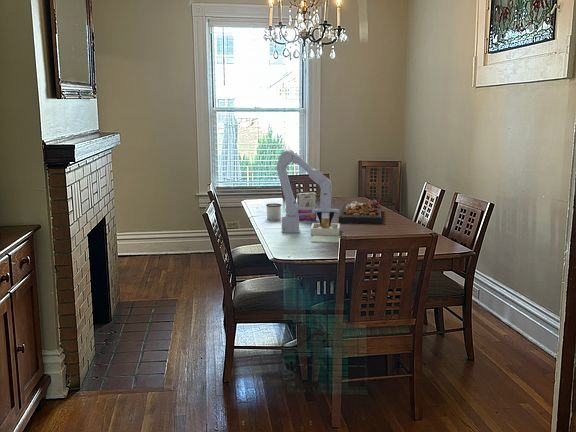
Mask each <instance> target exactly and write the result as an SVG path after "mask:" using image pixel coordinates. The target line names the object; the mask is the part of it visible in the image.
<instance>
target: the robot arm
mask: <svg viewBox="0 0 576 432" xmlns="http://www.w3.org/2000/svg"><path fill="white" fill-rule="evenodd" d="M290 164H297V166H299V167H301V169H303V170H304V171H305V172H307V173H308V177H309V178H310V179H311V180H312V181H313V182H315V183H316V184H317V185H319V189H320V192H319V195H320V196H319V197H320V203H319V204H320V205H319V206H320V207H319V208H316V209H312V213H316V217H317V218H318V221H319V223H320V226H322V217H323V216H322V215H323V213H324V214H328V215H329V216H328V217H329V227H330V226H331V223H332V221H333V217H334V215H335V214H340V209H337V208H332V193H331V192H332V188H331V187H332V181H331V179H330V178H328V177H327V176H326V175H324V174H323V173H322V172H321V170H320V169H318V168H312V166H311V165H309V164H308V163H307V162H306V161H305V160H304V159H303V158H302V157H301V156H300V155H299V154H298V153H296V152H294V151H293V150H292V149H287V150H284V151H282V152H281V154H280V155H279V157H278V160H277V164H276V172H277V176H278V179H279V182H280V185H281V190H282V193H283V197H284V201H285V203H284V204H285V211H284V212H285V215H281V233H292V234H293V233H296V234H297V233H298V234H299V233H300V232H301V229H300V221H299V214H298V211H299V205H298V204H297V199H296V198H295V196H294V193H293V189H292V184H291V182H290V178H289V175H288V171H287V168H288V166H289V165H290Z"/></svg>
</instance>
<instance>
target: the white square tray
mask: <svg viewBox="0 0 576 432" xmlns="http://www.w3.org/2000/svg"><path fill="white" fill-rule="evenodd" d="M340 226H341V223H334V222H333V223H332V222H331V226H330V227H329V228H322V226H320V222H312V224H311V226H310V235H311V236H340V231H341V230H340V229H341V227H340Z"/></svg>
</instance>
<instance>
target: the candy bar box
mask: <svg viewBox="0 0 576 432" xmlns="http://www.w3.org/2000/svg"><path fill="white" fill-rule="evenodd" d="M296 202H297V204H298V205H299V211H298V214H299V222H301V221H302V222H305V221H306V222H307V221H317V213H312V209H317V193H316V192H297V193H296Z"/></svg>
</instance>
